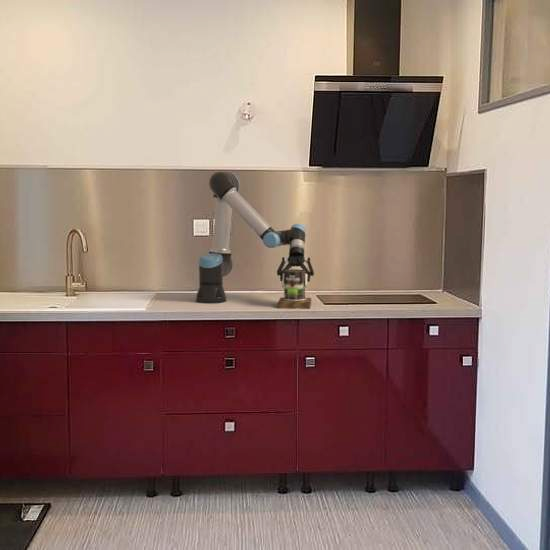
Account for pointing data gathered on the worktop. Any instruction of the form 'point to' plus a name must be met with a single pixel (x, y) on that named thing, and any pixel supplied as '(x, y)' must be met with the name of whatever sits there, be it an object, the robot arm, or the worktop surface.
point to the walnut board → (294, 303)
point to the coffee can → (294, 285)
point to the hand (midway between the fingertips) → (294, 286)
